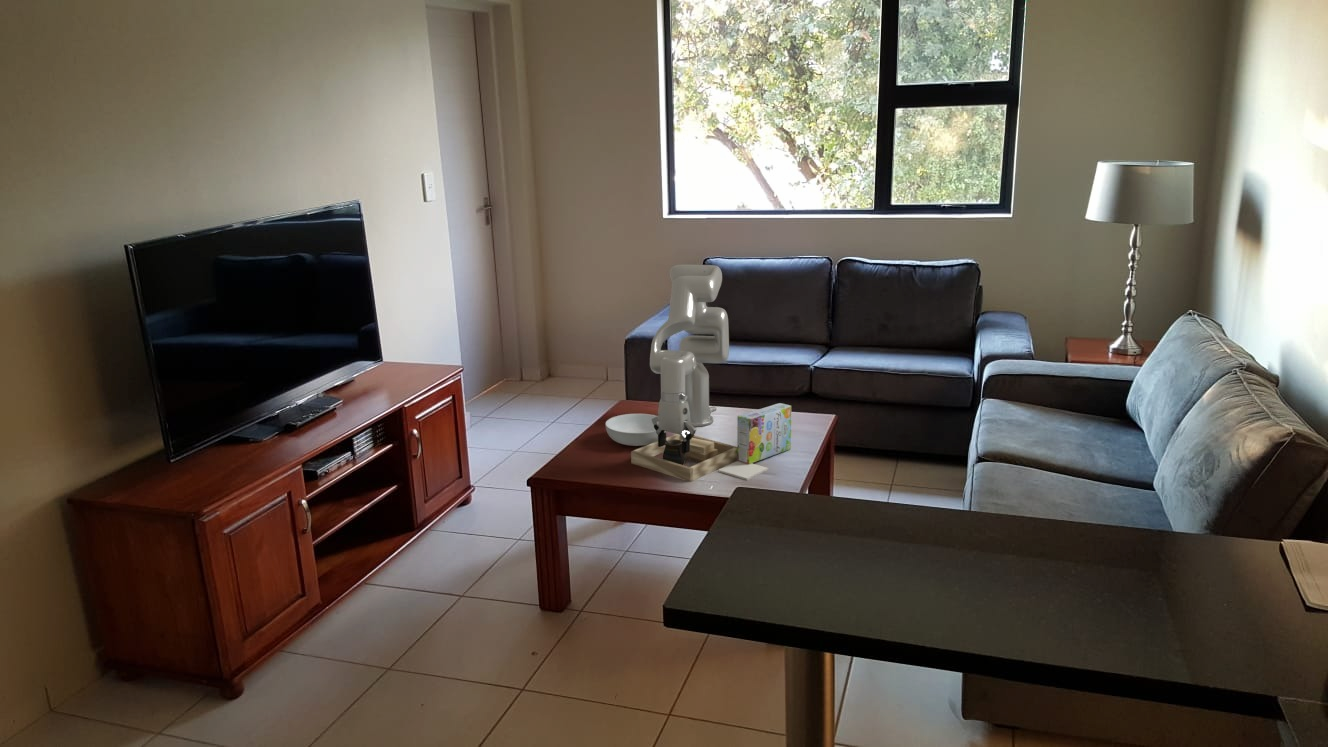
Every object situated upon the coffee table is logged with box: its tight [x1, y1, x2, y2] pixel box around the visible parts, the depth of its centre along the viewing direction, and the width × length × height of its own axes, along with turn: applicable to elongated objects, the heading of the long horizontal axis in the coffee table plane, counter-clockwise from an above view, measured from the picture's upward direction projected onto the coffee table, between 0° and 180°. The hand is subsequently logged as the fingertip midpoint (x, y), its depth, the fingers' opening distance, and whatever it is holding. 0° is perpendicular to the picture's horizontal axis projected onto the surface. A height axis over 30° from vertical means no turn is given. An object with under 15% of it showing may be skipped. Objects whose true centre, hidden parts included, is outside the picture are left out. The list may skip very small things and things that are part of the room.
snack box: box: [736, 402, 792, 464], centre depth 289 cm, size 21×6×15 cm, turn 135°
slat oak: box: [685, 448, 718, 461], centre depth 290 cm, size 6×12×2 cm, turn 46°
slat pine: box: [681, 438, 714, 453], centre depth 290 cm, size 6×10×2 cm, turn 55°
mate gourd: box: [662, 439, 687, 466], centre depth 282 cm, size 7×8×10 cm
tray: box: [630, 433, 737, 483], centre depth 286 cm, size 24×24×4 cm
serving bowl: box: [604, 413, 667, 447], centre depth 305 cm, size 21×21×7 cm
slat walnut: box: [685, 455, 703, 464], centre depth 291 cm, size 7×14×2 cm, turn 49°
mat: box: [717, 461, 769, 481], centre depth 278 cm, size 11×11×1 cm
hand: (673, 449), depth 281 cm, fingers open, 9 cm apart
